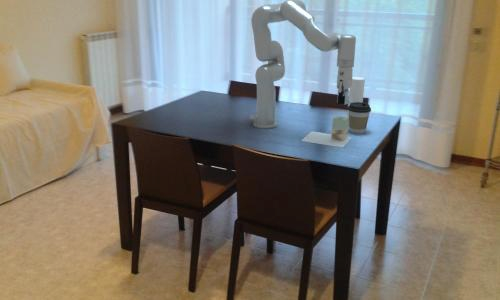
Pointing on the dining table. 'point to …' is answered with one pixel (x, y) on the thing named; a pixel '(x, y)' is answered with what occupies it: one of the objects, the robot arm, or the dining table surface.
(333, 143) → the white rectangular slab
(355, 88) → the cylindrical container
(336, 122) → the top block
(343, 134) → the bottom block
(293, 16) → the robot arm
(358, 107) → the coffee cup
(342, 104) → the pale white cylinder
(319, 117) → the dining table surface
